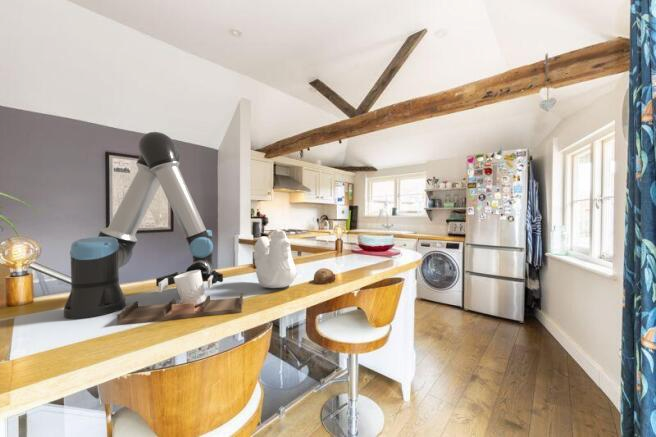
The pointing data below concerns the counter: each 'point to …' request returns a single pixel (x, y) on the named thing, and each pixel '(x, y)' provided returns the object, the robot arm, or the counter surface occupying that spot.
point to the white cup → (190, 287)
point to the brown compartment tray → (179, 310)
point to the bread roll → (324, 276)
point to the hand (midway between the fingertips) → (185, 285)
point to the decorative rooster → (274, 260)
